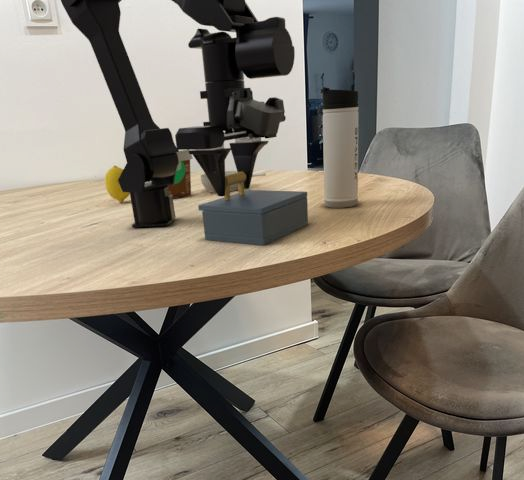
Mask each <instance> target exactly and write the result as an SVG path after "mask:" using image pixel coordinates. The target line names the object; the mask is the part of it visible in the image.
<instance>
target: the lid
mask: <svg viewBox="0 0 524 480" xmlns="http://www.w3.org/2000/svg"><path fill="white" fill-rule="evenodd" d="M245 180H246V174H245V173H244V172H237V173H233V174H229V175H226V176H225V196H222V197H220V198H217V199H214V200H211V201H207V202H204V203H200V204H198V207H197V209H198V211H201V212H202V211H217V212H234V213H250V214H263V213H266V212H269V211H271V210H274V209H276V208H279V207H282V206H284V205H287V204H289V203H292V202H295V201H297V200H300V199H302V198H305V197H307V198H308V191H299V190H296V191H295V190H270V189H269V190H268V189H267V190H263V189H244V181H245ZM237 183H238V188H239V189H238V192H236V193H234V194H231V191H230V189H229V186H230V185H234V184H237Z"/></svg>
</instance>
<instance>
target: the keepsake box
mask: <svg viewBox="0 0 524 480" xmlns="http://www.w3.org/2000/svg"><path fill="white" fill-rule="evenodd" d="M308 209H309V208H308V196H307V197H305V198H302V199H300V200H297V201H295V202H292V203H289V204H287V205H284V206H282V207H279V208H276V209H274V210H271V211H269V212H266V213H263V214H250V213H234V212H217V211H201V213H202V214H201V215H202V223H203V232H204V239H205V240H206V241H215V242H226V243H235V244H236V243H237V244H245V245H247V244H248V245H257V246H266V245H267V244H269V243H272V242H273V241H277V239H280V238H282V237H284V236H286V235H289V234H290V233H291V234H292V233H293V232H296V231H297V230H299V229H301V228H303V227H306V226H307V225H309V213H308V212H309V211H308Z"/></svg>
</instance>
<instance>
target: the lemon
mask: <svg viewBox="0 0 524 480" xmlns="http://www.w3.org/2000/svg"><path fill="white" fill-rule="evenodd" d="M123 169H124V168H121V167H119V166H118V165H113V166H112V167H111V168H109V169H108V170H107V171H106V174H105V177H104V178H105V179H104V184H105V190H106V192H107V193H108V195H109V196H110V197H111V198H112V199H114V200H117V201H118V202H119V203H123V202H124V201H125V200H126V199H127V198H129V197H130V192H123V191H122V189H121V187H120V184H119V182H118V179H119V177H120V175H121V173H122V171H123Z"/></svg>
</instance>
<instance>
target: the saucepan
mask: <svg viewBox="0 0 524 480" xmlns="http://www.w3.org/2000/svg"><path fill="white" fill-rule="evenodd" d="M233 173H237V170H225V176H226V175H229V174H233ZM266 175H267V174H266V173H265V172H264V173H263V172H262V173H253V174H252V177H265V176H266ZM199 177H200V181H201V184H202V186H203V187H204V189H205V190H206V192H208V193H209V192H210V193H216V191H215V190H214V188H213V186H212V184H211V183H210V181H209V179H208V177H207V176H206V174H205V173H203V174H200V175H199ZM229 189H230V192H234V191H237V190H238V191H239V188H238V183H237V184H234V185H230V186H229Z"/></svg>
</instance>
